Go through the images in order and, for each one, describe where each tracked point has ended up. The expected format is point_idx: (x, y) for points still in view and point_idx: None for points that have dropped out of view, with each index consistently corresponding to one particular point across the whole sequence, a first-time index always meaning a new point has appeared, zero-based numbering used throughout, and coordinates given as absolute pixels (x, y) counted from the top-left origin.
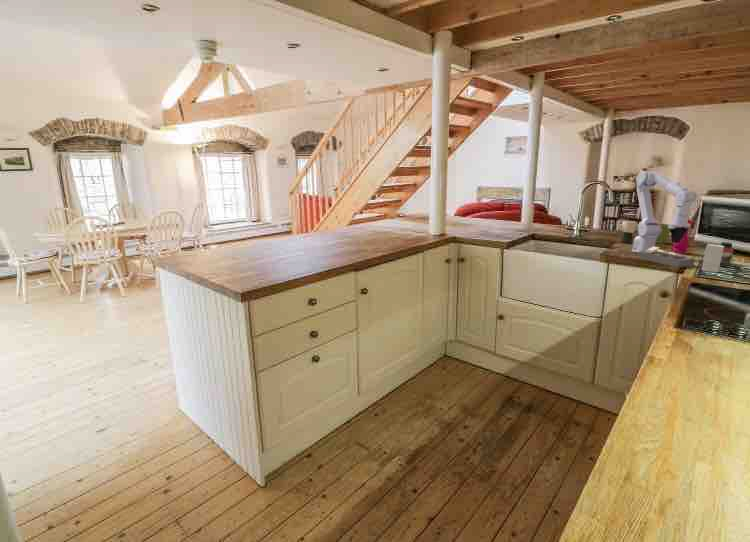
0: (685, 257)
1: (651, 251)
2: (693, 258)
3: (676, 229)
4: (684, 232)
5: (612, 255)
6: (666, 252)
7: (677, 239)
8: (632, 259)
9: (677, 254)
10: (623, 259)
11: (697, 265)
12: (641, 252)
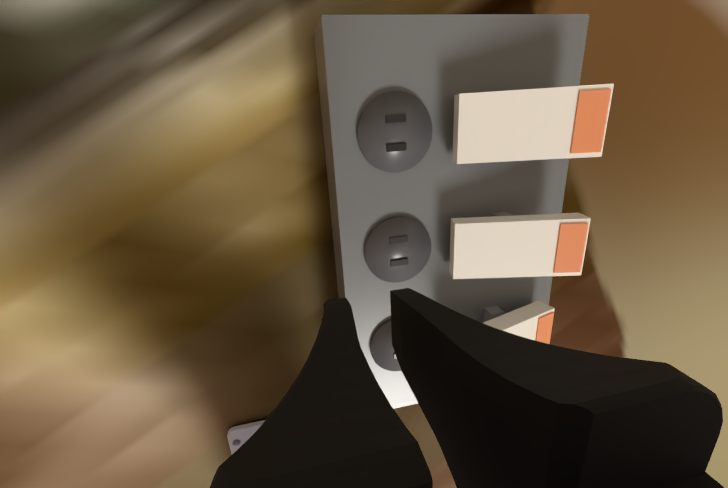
0: (386, 92)
1: (549, 308)
2: (342, 20)
3: (700, 480)
4: (345, 402)
5: None
6: (520, 218)
7: (438, 305)
8: (568, 319)
9: (558, 87)
10: (615, 327)
11: (262, 21)
12: None
